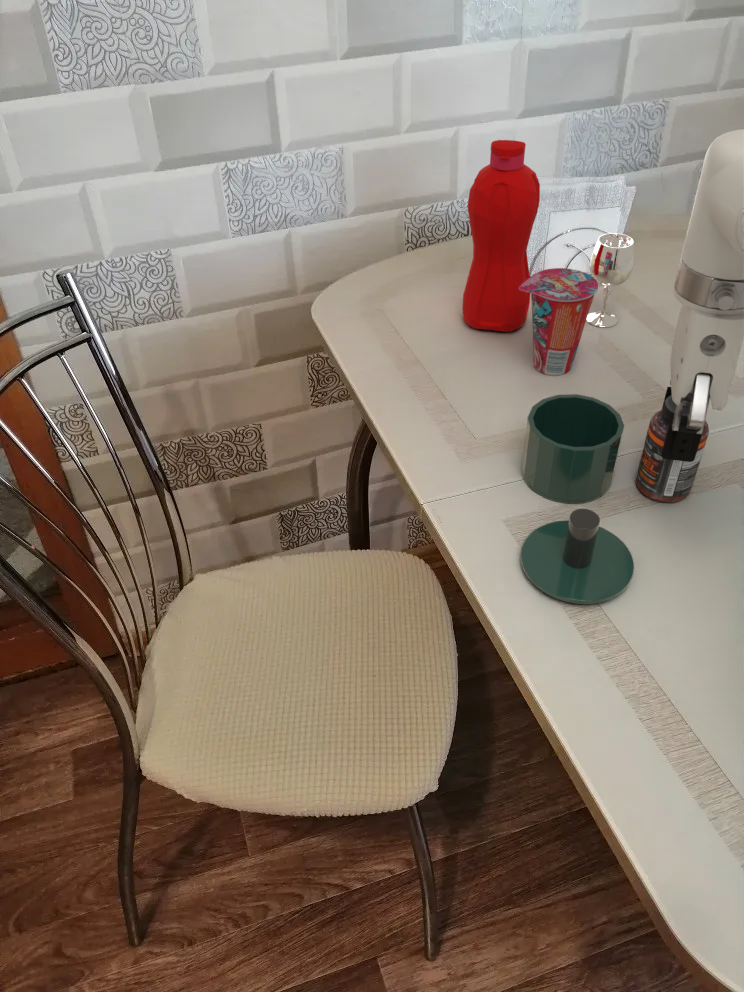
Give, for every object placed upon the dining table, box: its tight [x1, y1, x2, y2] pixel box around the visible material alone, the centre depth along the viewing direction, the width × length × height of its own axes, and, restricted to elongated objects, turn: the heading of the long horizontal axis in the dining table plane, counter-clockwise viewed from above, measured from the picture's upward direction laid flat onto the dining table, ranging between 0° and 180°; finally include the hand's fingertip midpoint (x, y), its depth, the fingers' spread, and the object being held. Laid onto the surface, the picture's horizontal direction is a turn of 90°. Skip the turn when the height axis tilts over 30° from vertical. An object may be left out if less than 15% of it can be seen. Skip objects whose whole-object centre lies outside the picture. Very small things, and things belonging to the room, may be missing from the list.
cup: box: [519, 267, 599, 376], centre depth 103 cm, size 9×8×12 cm
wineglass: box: [586, 232, 635, 328], centre depth 111 cm, size 6×6×12 cm
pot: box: [521, 393, 625, 504], centre depth 88 cm, size 10×10×8 cm
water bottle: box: [461, 139, 541, 333], centre depth 109 cm, size 9×11×25 cm
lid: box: [520, 508, 635, 605], centre depth 78 cm, size 11×11×7 cm
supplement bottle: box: [635, 395, 710, 503], centre depth 84 cm, size 6×6×11 cm
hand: (676, 437), depth 84 cm, fingers closed on supplement bottle, 5 cm apart
